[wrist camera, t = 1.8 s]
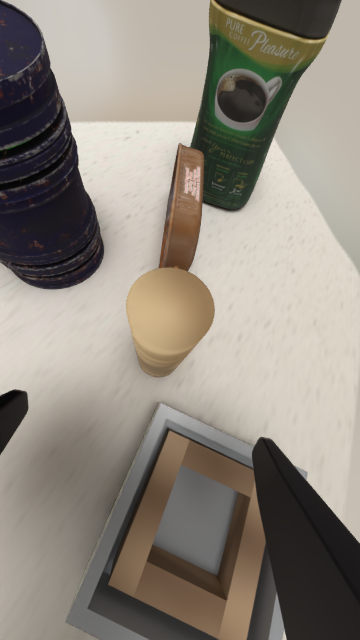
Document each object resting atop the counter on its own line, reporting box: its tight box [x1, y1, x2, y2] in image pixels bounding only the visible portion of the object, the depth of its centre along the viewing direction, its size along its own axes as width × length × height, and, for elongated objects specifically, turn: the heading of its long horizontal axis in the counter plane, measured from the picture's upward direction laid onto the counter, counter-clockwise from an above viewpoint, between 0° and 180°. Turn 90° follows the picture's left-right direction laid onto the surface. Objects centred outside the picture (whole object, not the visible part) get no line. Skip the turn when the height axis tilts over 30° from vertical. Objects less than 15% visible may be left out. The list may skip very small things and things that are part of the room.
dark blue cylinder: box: [0, 0, 104, 289], centre depth 16 cm, size 10×10×15 cm
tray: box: [66, 403, 307, 640], centre depth 15 cm, size 12×12×4 cm
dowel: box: [126, 268, 215, 377], centre depth 15 cm, size 4×4×12 cm
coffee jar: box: [190, 0, 341, 209], centre depth 22 cm, size 10×8×19 cm
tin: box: [159, 143, 204, 272], centre depth 22 cm, size 15×3×8 cm, turn 175°
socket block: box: [108, 427, 266, 640], centre depth 15 cm, size 9×9×2 cm
